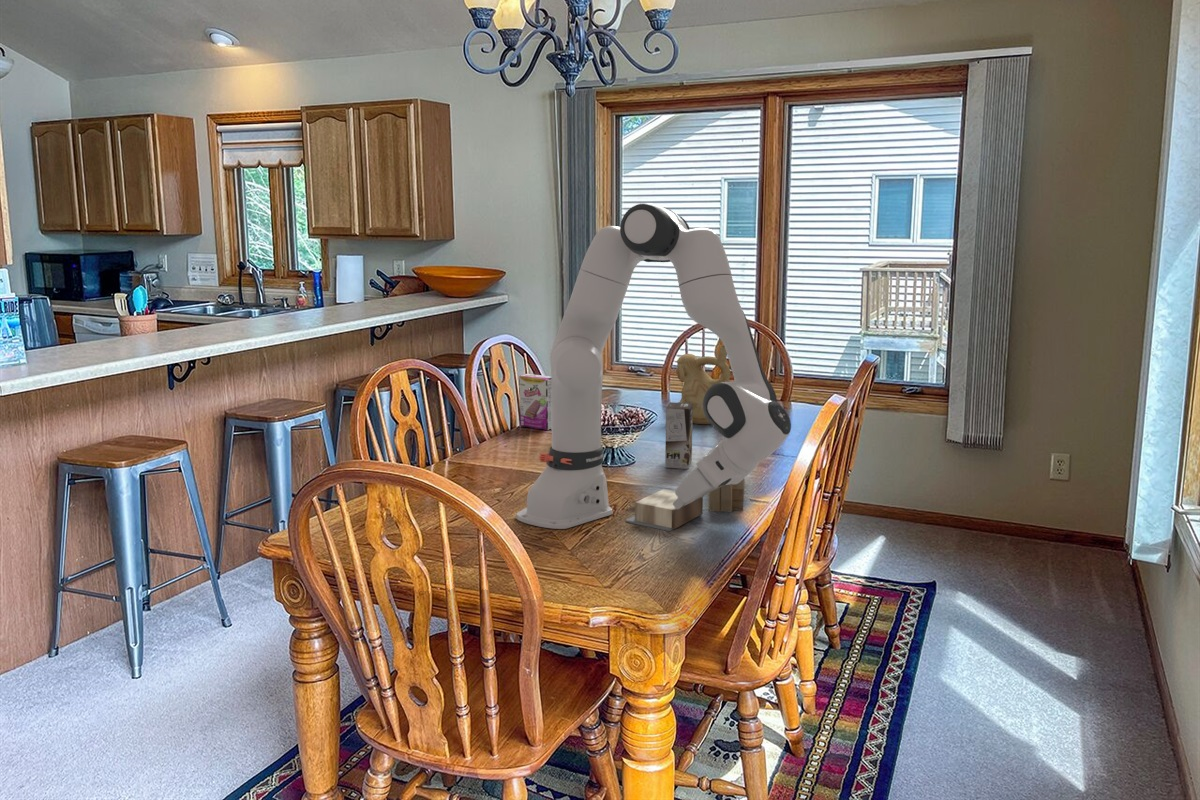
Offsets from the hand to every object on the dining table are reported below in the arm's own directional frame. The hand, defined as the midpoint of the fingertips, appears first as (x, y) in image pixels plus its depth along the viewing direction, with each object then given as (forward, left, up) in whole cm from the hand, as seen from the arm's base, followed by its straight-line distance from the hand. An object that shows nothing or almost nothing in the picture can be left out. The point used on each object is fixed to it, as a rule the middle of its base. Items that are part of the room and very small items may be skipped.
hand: (687, 500), depth 198 cm
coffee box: (+41, +26, -5) cm, 49 cm away
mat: (0, +6, -5) cm, 8 cm away
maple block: (0, 0, -2) cm, 3 cm away
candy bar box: (+55, +85, -5) cm, 101 cm away
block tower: (+24, +3, -5) cm, 25 cm away
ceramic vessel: (+92, +47, -5) cm, 103 cm away
